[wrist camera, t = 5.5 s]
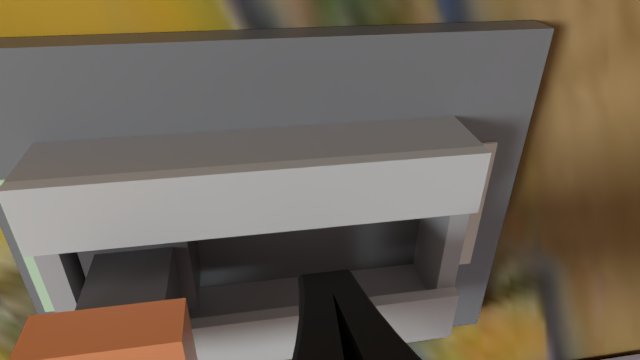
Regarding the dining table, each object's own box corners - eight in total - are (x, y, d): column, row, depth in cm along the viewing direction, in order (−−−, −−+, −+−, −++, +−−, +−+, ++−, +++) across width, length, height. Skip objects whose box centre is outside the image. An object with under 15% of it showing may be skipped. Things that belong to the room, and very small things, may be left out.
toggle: (207, 273, 16) (201, 433, 11) (105, 284, 15) (54, 457, 11) (195, 192, 14) (181, 341, 9) (80, 202, 14) (7, 363, 9)
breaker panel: (466, 305, 20) (505, 373, 18) (72, 356, 18) (44, 444, 15) (535, 20, 14) (613, 52, 11) (-54, 39, 12) (-142, 87, 9)
